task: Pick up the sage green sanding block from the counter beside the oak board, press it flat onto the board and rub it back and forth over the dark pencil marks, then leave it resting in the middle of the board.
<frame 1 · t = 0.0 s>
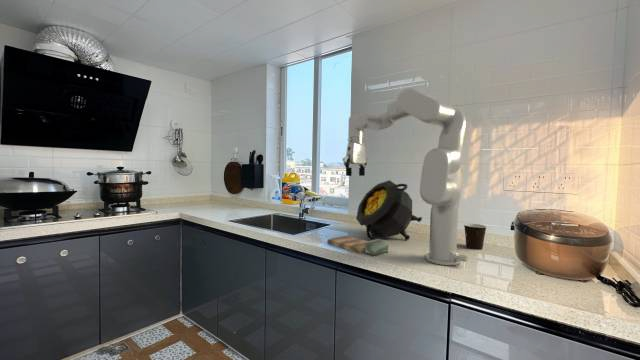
hand: (355, 175, 141), 31 cm above the countertop, tool pointing down, fingers open, 9 cm apart
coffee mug: (473, 248, 126), on the countertop
oak board: (352, 246, 127), on the countertop
black cauldron: (386, 238, 143), on the countertop
sanding block: (376, 253, 117), on the countertop
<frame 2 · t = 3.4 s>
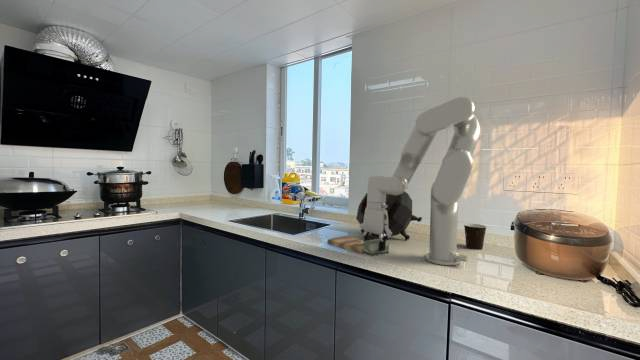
hand: (374, 247, 118), 2 cm above the countertop, tool pointing down, fingers open, 7 cm apart
sanding block: (376, 253, 117), on the countertop, touching gripper, oak board
everything else where it was.
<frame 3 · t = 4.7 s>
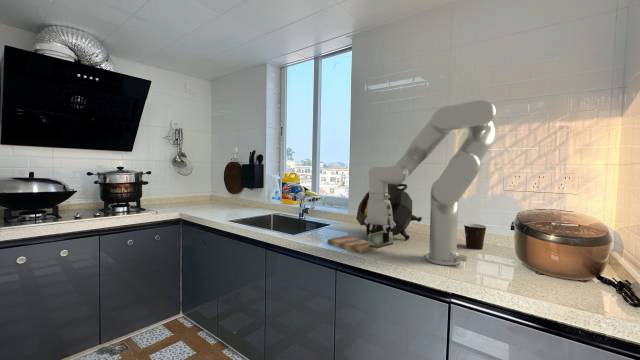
hand: (380, 240, 116), 5 cm above the countertop, tool pointing down, fingers closed on sanding block, 5 cm apart
sanding block: (381, 245, 117), point 3 cm above the countertop, touching gripper
everything else where it was.
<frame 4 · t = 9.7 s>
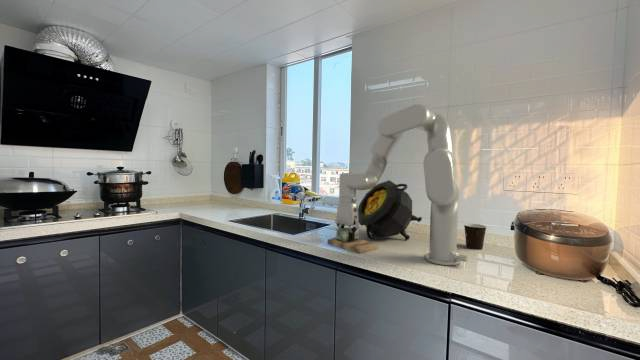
hand: (346, 239, 130), 2 cm above the countertop, tool pointing down, fingers closed on sanding block, 5 cm apart
sanding block: (347, 239, 130), point 2 cm above the countertop, touching gripper
everything else where it was.
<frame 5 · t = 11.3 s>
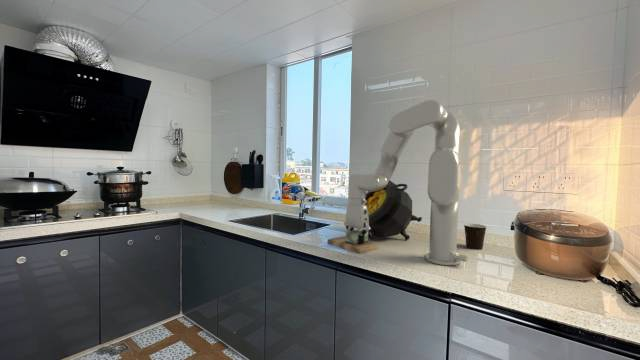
hand: (356, 242, 126), 2 cm above the countertop, tool pointing down, fingers closed on sanding block, 5 cm apart
sanding block: (357, 242, 126), point 2 cm above the countertop, touching gripper
everything else where it was.
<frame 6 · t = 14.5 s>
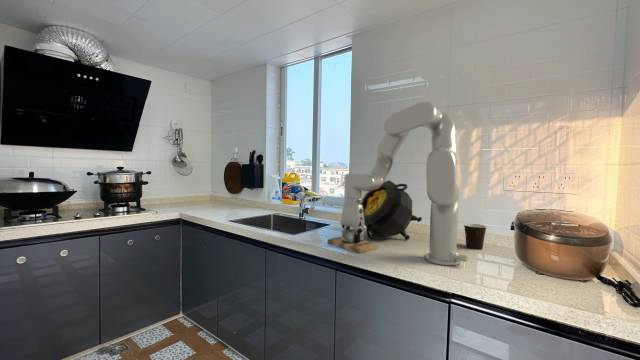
hand: (352, 241, 127), 2 cm above the countertop, tool pointing down, fingers closed on sanding block, 5 cm apart
sanding block: (352, 241, 128), point 2 cm above the countertop, touching gripper
everything else where it was.
when the fingers open (2 cm above the countertop, at t = 14.8 s): sanding block stays where it is, resting on oak board.
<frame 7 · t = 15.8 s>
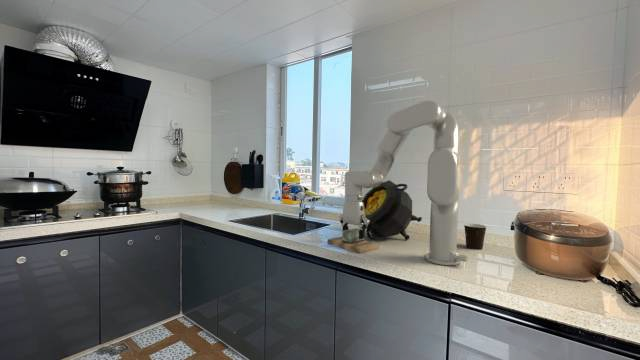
hand: (353, 236, 127), 4 cm above the countertop, tool pointing down, fingers open, 9 cm apart
sanding block: (353, 241, 127), point 2 cm above the countertop, touching oak board
everything else where it was.
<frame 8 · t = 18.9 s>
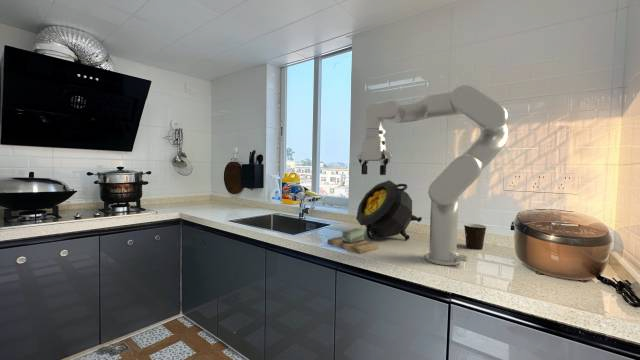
hand: (373, 174, 120), 32 cm above the countertop, tool pointing down, fingers open, 9 cm apart
nothing on the countertop moved.
at the end: sanding block 0.5 cm off-centre on the oak board, point 2.0 cm above the oak board's base; sanding block tilted 0°; the gripper is holding nothing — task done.
